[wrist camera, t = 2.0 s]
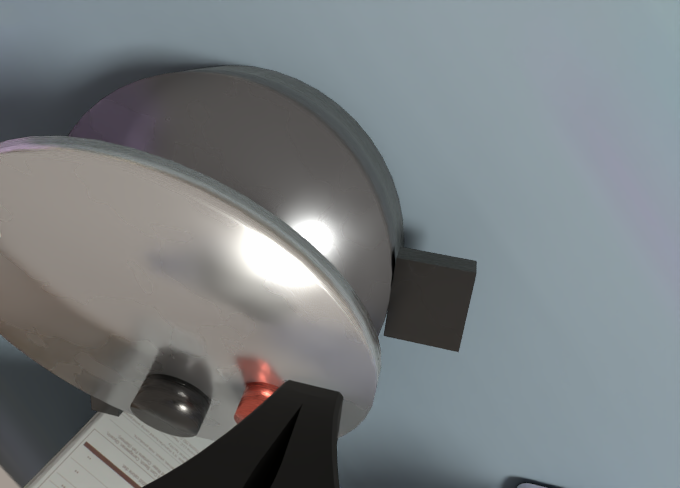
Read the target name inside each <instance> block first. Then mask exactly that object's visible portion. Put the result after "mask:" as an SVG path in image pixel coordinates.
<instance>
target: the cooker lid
mask: <svg viewBox="0 0 680 488" xmlns="http://www.w3.org/2000/svg"><path fill="white" fill-rule="evenodd" d="M0 334H1V335H2V336H3V337H4V338H5V339H6V340H8V341H9V342H10V343H11V344H13V345H14V346H15V347H16V348H18V349H19V350H20V351H22V352H23V353H24V354H26V355H27V356H28V357H30V358H31V359H33V360H34V361H35V362H37V363H38V364H40V365H41V366H43V367H44V368H46V369H47V370H49V371H50V372H52V373H53V374H55V375H57V376H58V377H60V378H62V379H63V380H65V381H66V382H68V383H70V384H71V385H73V386H75V387H77V388H79V389H81V390H82V391H84V392H86V393H88V394H90V395H91V396H93V397H95V398H98V399H100V400H102V401H104V402H106V403H108V404H110V405H112V406H114V407H116V408H118V409H121V410H123V411H125V412H127V413H130V414H132V415H134V416H136V417H137V418H138V419H139V420H141V421H142V422H143V423H145V424H147V425H148V426H150V427H152V428H154V429H156V430H158V431H161V432H163V433H166V434H169V435H173V436H177V437H186V438H187V437H194V436H196V437H200V438H204V439H209V440H213V441H216V440H217V439H219V438H220V437H221V436H223V435H224V434H226V433H227V432H228V431H229V430H231V429H232V428H233V427H234V426H236V425H237V424H238V423H239V422H240V421H242V420H243V419H244V418H245V417H247V416H248V415H249V414H250V413H251V412H253V411H254V410H255V409H256V408H257V407H258V406H259V405H261V404H262V403H263V402H264V401H265V400H266V399H267V398H268V397H269V396H271V395H272V394H273V393H274V392H275V391H276V390H277V389H278V388H279V387H280V386H281V385H282V384H283V383H284V382H286V381H288V380H292V381H296V382H301V383H305V384H309V385H313V386H317V387H321V388H325V389H330V390H334V391H338V392H340V393H341V394H342V396H343V397H344V398H343V405H342V412H341V419H340V426H339V433H338V438H339V437H342V436H344V435H345V434H347V433H349V432H350V431H352V430H353V429H355V428H356V427H357V426H358V425H359V424H360V423H361V422H362V421H363V420H364V419H365V418H366V416H367V414H368V412H369V411H370V409H371V407H372V404H373V400H374V396H375V392H376V388H377V383H378V379H379V375H380V371H381V349H380V344H379V340H378V336H377V332H376V329H375V327H374V325H373V323H372V320H371V318H370V316H369V314H368V311H367V310H366V308H365V306H364V305H363V303H362V302H361V300H360V299H359V297H358V295H357V294H356V292H355V291H354V289H353V288H352V287H351V285H350V284H349V283H348V282H347V281H346V279H345V278H344V277H343V276H342V275H341V273H340V272H339V271H338V270H337V269H336V267H335V266H334V265H333V264H332V263H331V262H330V261H329V260H328V259H327V258H326V257H325V256H324V255H323V254H322V253H320V252H319V251H318V250H317V249H316V248H315V247H314V246H313V245H312V244H311V243H310V242H309V241H308V240H307V239H305V238H304V237H303V236H301V235H300V234H299V233H298V232H296V231H295V230H294V229H293V228H291V227H290V226H289V225H288V224H286V223H285V222H284V221H282V220H281V219H280V218H278V217H277V216H275V215H274V214H272V213H271V212H269V211H268V210H266V209H265V208H263V207H262V206H260V205H259V204H257V203H256V202H254V201H252V200H251V199H249V198H248V197H246V196H244V195H243V194H241V193H239V192H237V191H235V190H233V189H231V188H230V187H228V186H226V185H224V184H222V183H220V182H218V181H217V180H215V179H213V178H211V177H209V176H206V175H204V174H202V173H200V172H197V171H195V170H193V169H190V168H188V167H186V166H183V165H181V164H179V163H176V162H174V161H172V160H168V159H165V158H162V157H159V156H156V155H153V154H150V153H147V152H144V151H141V150H138V149H135V148H131V147H127V146H122V145H118V144H114V143H109V142H105V141H100V140H95V139H86V138H77V137H68V136H30V137H24V138H19V139H13V140H7V141H3V142H1V143H0Z"/></svg>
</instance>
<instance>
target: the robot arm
mask: <svg viewBox="0 0 680 488" xmlns="http://www.w3.org/2000/svg"><path fill="white" fill-rule="evenodd" d="M343 398H344V397H343V396H342V394H341V393H340V392H338V391H334V390H330V389H325V388H321V387H317V386H313V385H309V384H305V383H301V382H296V381H292V380H288V381H286V382H284V383H283V384H282V385H281V386H280V387H279V388H278V389H277V390H276V391H275V392H274V393H273V394H272V395H271V396H269V397H268V398H267V399H266V400H265V401H264V402H263V403H262V404H261V405H259V406H258V407H257V408H256V409H255V410H254V411H253V412H251V413H250V414H249V415H248V416H247V417H245V418H244V419H243V420H242V421H240V422H239V423H238V424H237V425H236V426H234V427H233V428H232V429H231V430H229V431H228V432H227V433H226V434H224V435H223V436H221V437H220V438H219V439H217V440H216V441H215V442H213V443H212V444H210V445H209V446H208V447H206V448H205V449H204V450H202V451H201V452H199V453H198V454H197V455H195V456H194V457H192V458H191V459H189V460H188V461H186V462H184V463H183V464H181V465H180V466H178V467H176V468H175V469H173V470H172V471H170V472H168V473H167V474H165V475H163V476H161V477H160V478H158V479H156V480H154V481H152V482H151V483H149V484H147V485H145V486H143V487H141V488H339V479H338V467H337V440H338V433H339V426H340V419H341V412H342V405H343ZM517 488H546V487H542V486H538V485H534V484H530V483H523V484H520V485H519V486H517Z"/></svg>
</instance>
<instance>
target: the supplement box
mask: <svg viewBox="0 0 680 488" xmlns="http://www.w3.org/2000/svg"><path fill="white" fill-rule="evenodd" d="M213 442H215V441H213V440H209V439H204V438H200V437H196V436H194V437H187V438H186V437H177V436H173V435H169V434H166V433H163V432H161V431H158V430H156V429H154V428H152V427H150V426H148V425H147V424H145V423H143V422H142V421H141V420H139V419H138V418H137V417H136V416H134V415H132V414H130V413H127V412H125V411H123V412H122V413H121V415H120V416H119V417H117V416H114V415H110V414H106V413H102V412H97V413H96V414H95V415H94V416H93V417H92V418H91V419H90V420H89V421H88V422H87V423H86V424H85V426H84V427H83V428H82V429H81V430H80V431H79V432H78V433H77V434H76V435H75V436H74V437H73V438H72V439H71V440H70V441H69V442H68V443H67V444H66V445H65V446H64V447H63V448H62V449H61V450H60V451H59V452H58V453H57V454H56V455H55V456H54V457H53V458H52V459H51V460H50V461H49V462H48V463H47V464H46V465H45V466H44V467H43V468H42V469H41V470H40V471H39V472H38V473H37V474H36V475H35V476H34V477H33V478H32V479H31V480H30V481H29V482H28V483H27V485H26V486H25V487H24V488H141V487H143V486H145V485H147V484H149V483H151V482H152V481H154V480H156V479H158V478H160V477H161V476H163V475H165V474H167V473H168V472H170V471H172V470H173V469H175V468H176V467H178V466H180V465H181V464H183V463H184V462H186V461H188V460H189V459H191V458H192V457H194V456H195V455H197V454H198V453H199V452H201V451H202V450H204V449H205V448H206V447H208V446H209V445H210V444H212V443H213Z"/></svg>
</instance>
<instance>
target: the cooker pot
mask: <svg viewBox="0 0 680 488" xmlns="http://www.w3.org/2000/svg"><path fill="white" fill-rule="evenodd" d="M68 137H77V138H86V139H95V140H100V141H105V142H109V143H114V144H118V145H122V146H127V147H131V148H135V149H138V150H141V151H144V152H147V153H150V154H153V155H156V156H159V157H162V158H165V159H168V160H172V161H174V162H176V163H179V164H181V165H183V166H186V167H188V168H190V169H193V170H195V171H197V172H200V173H202V174H204V175H206V176H209V177H211V178H213V179H215V180H217V181H218V182H220V183H222V184H224V185H226V186H228V187H230V188H231V189H233V190H235V191H237V192H239V193H241V194H243V195H244V196H246V197H248V198H249V199H251V200H252V201H254V202H256V203H257V204H259V205H260V206H262V207H263V208H265V209H266V210H268V211H269V212H271V213H272V214H274V215H275V216H277V217H278V218H280V219H281V220H282V221H284V222H285V223H286V224H288V225H289V226H290V227H291V228H293V229H294V230H295V231H296V232H298V233H299V234H300V235H301V236H303V237H304V238H305V239H307V240H308V241H309V242H310V243H311V244H312V245H313V246H314V247H315V248H316V249H317V250H318V251H319V252H320V253H322V254H323V255H324V256H325V257H326V258H327V259H328V260H329V261H330V262H331V263H332V264H333V265H334V266H335V267H336V269H337V270H338V271H339V272H340V273H341V275H342V276H343V277H344V278H345V279H346V281H347V282H348V283H349V284H350V285H351V287H352V288H353V289H354V291H355V292H356V294H357V295H358V297H359V299H360V300H361V302H362V303H363V305H364V306H365V308H366V310H367V311H368V314H369V316H370V318H371V320H372V323H373V325H374V327H375V329H376V332H377V336H378V335H379V333H380V330H381V328H382V325H383V323H384V320H385V317H386V314H387V318H386V325H385V331H384V336H387V337H392V338H397V339H401V340H406V341H410V342H415V343H420V344H424V345H429V346H434V347H438V348H443V349H447V350H452V351H457V352H459V348H460V343H461V339H462V334H463V330H464V326H465V321H466V317H467V312H468V308H469V304H470V299H471V295H472V290H473V286H474V281H475V277H476V261H473V260H468V259H463V258H457V257H452V256H447V255H441V254H436V253H431V252H425V251H420V250H415V249H410V248H404V247H403V244H404V233H403V218H402V212H401V207H400V201H399V197H398V194H397V191H396V188H395V185H394V182H393V179H392V176H391V174H390V172H389V170H388V168H387V166H386V164H385V161H384V159H383V157H382V156H381V154H380V152H379V151H378V149H377V148H376V146H375V145H374V143H373V142H372V140H371V139H370V137H369V136H368V135H367V134H366V132H365V131H364V130H363V129H362V128H361V126H360V125H359V124H358V123H357V122H356V121H355V119H354V118H352V117H351V116H350V115H349V114H348V113H347V112H346V111H345V110H344V109H343V108H342V107H340V106H339V105H338V104H337V103H336V102H334V101H333V100H332V99H330V98H329V97H327V96H326V95H324V94H323V93H322V92H320V91H319V90H317V89H315V88H313V87H311V86H309V85H308V84H306V83H304V82H302V81H300V80H298V79H296V78H293V77H290V76H287V75H284V74H282V73H279V72H276V71H272V70H267V69H262V68H258V67H251V66H236V65H229V66H217V67H208V68H201V69H194V70H187V71H181V72H174V73H167V74H161V75H157V76H153V77H149V78H145V79H141V80H138V81H136V82H133V83H131V84H128V85H126V86H124V87H121V88H119V89H117V90H116V91H114V92H113V93H111V94H109V95H108V96H106V97H105V98H103V99H101V100H100V101H99V102H98V103H97V104H96V105H94V106H93V107H92V108H91V109H90V110H89V111H88V112H87V113H85V114H84V116H83V117H82V118H81V119H80V121H79V122H78V123H77V124H76V125H75V127H74V128H73V129H72V130H71V132H70V134H69V136H68ZM387 311H388V312H387ZM91 407H92V410H95V411H98V412H102V413H106V414H110V415H114V416H117V417H119V416H120V415H121V413H122V412H123V410H121V409H118V408H116V407H114V406H112V405H110V404H108V403H106V402H104V401H102V400H100V399H98V398H95V397H93V396H91Z"/></svg>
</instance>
